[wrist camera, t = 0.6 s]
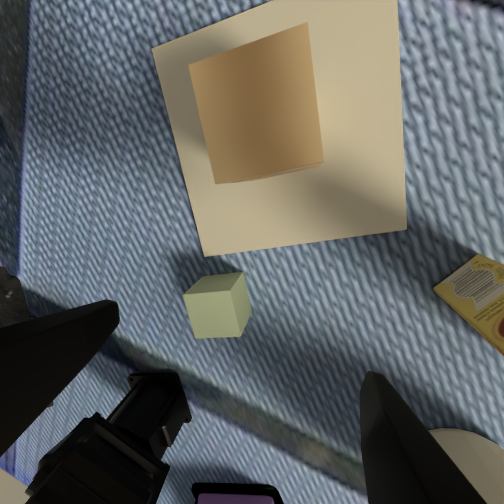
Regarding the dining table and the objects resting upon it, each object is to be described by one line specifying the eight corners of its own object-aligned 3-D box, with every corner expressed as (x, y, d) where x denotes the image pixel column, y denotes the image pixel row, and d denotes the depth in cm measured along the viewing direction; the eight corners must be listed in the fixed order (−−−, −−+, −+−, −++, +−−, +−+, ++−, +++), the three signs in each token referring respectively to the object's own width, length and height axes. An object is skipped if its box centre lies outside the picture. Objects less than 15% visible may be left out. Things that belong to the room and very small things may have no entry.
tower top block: (237, 182, 16) (215, 184, 12) (219, 93, 14) (188, 65, 11) (320, 164, 14) (324, 161, 11) (308, 65, 13) (307, 21, 9)
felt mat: (206, 254, 23) (204, 256, 22) (156, 52, 19) (151, 48, 18) (404, 228, 19) (406, 229, 18) (391, -40, 15) (395, -49, 14)
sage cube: (212, 313, 25) (195, 338, 21) (203, 275, 24) (182, 294, 20) (251, 311, 24) (240, 336, 20) (243, 271, 23) (230, 290, 19)
